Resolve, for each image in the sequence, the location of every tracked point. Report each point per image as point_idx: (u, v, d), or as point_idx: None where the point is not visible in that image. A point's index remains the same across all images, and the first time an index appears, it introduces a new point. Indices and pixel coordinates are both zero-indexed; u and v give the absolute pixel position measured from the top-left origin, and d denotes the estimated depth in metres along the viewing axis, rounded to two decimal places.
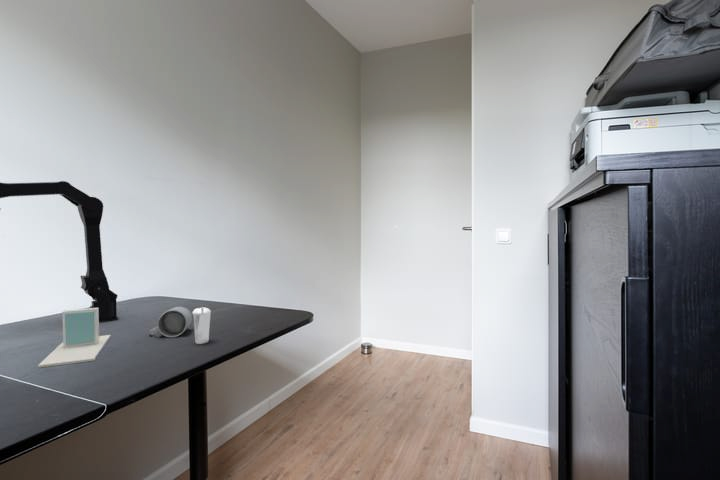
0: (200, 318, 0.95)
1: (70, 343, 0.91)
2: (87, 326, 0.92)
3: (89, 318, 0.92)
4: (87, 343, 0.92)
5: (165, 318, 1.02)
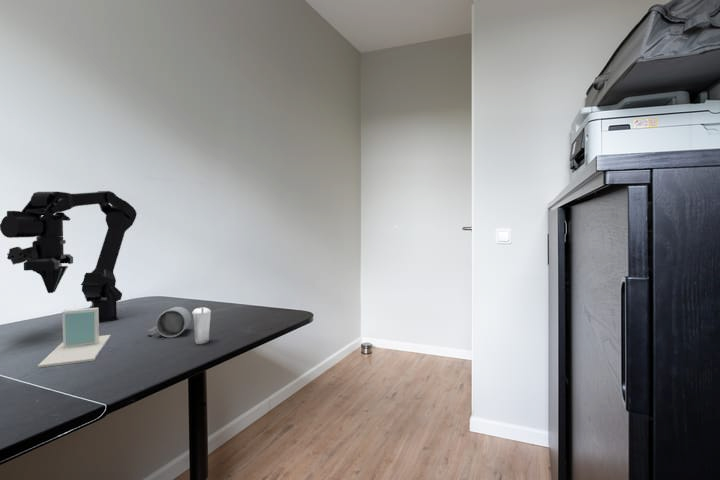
0: (200, 318, 0.95)
1: (70, 343, 0.91)
2: (87, 326, 0.92)
3: (89, 318, 0.92)
4: (87, 343, 0.92)
5: (164, 318, 1.02)
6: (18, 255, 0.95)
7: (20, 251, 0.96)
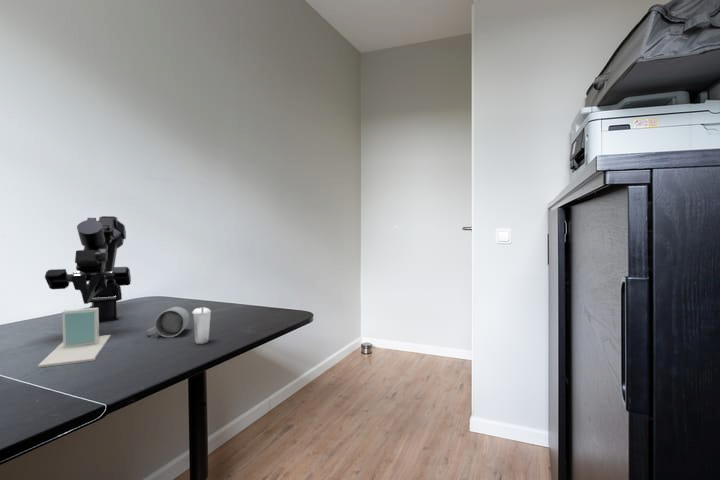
0: (200, 318, 0.95)
1: (70, 343, 0.91)
2: (87, 326, 0.92)
3: (89, 318, 0.92)
4: (87, 343, 0.92)
5: (162, 318, 1.02)
6: (106, 257, 1.02)
7: (107, 255, 1.02)
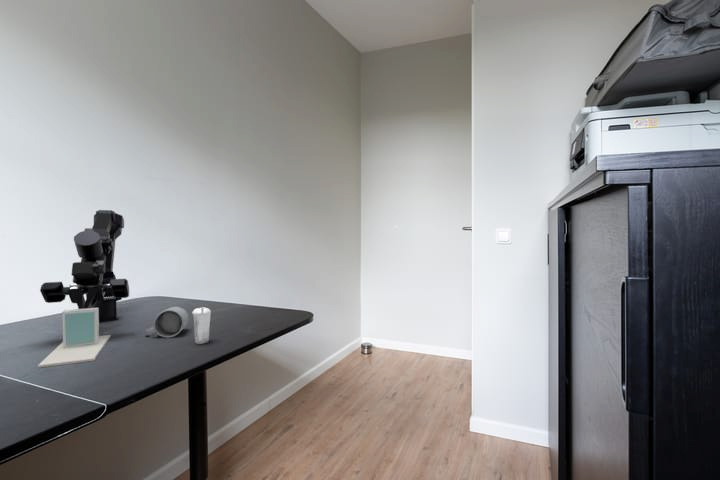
0: (200, 318, 0.95)
1: (70, 343, 0.91)
2: (87, 326, 0.92)
3: (89, 318, 0.92)
4: (87, 343, 0.92)
5: (161, 318, 1.02)
6: (104, 269, 0.98)
7: (105, 267, 0.99)
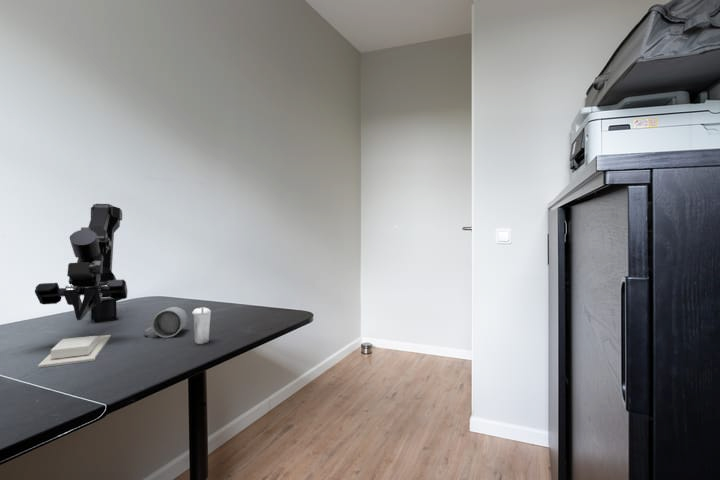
0: (200, 318, 0.95)
1: None
2: None
3: None
4: None
5: (160, 318, 1.02)
6: (101, 270, 0.95)
7: (102, 268, 0.96)
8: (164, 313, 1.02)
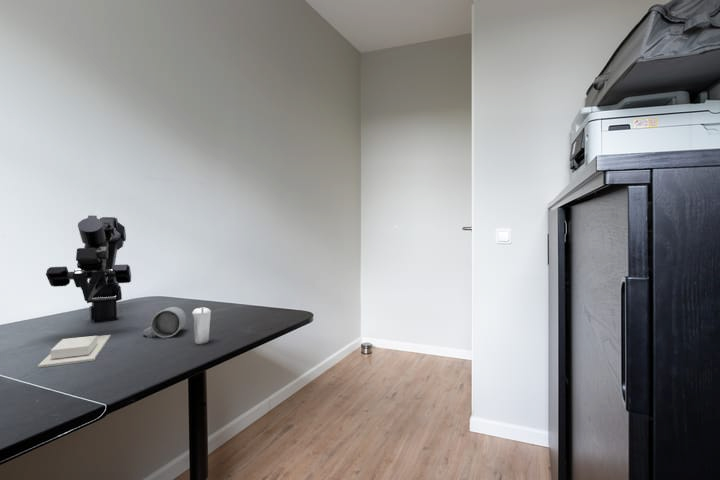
0: (200, 318, 0.95)
1: None
2: None
3: None
4: None
5: (159, 318, 1.02)
6: (107, 255, 1.02)
7: (107, 253, 1.03)
8: (163, 313, 1.02)
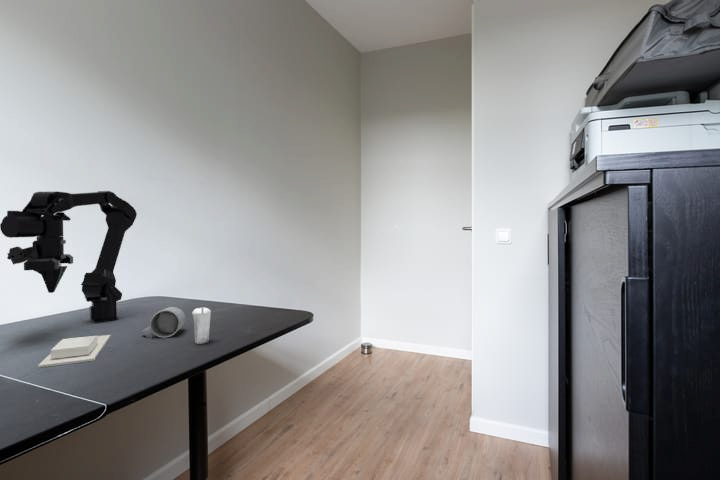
0: (200, 318, 0.95)
1: None
2: None
3: None
4: None
5: (158, 318, 1.02)
6: (18, 255, 0.95)
7: (20, 251, 0.96)
8: (162, 313, 1.02)
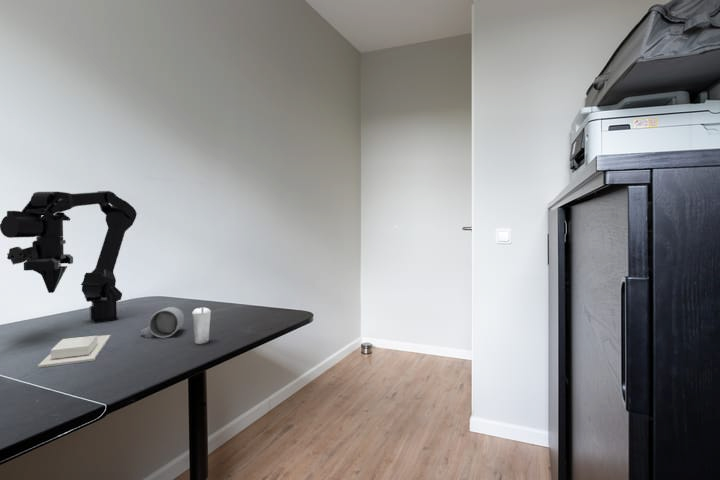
0: (200, 318, 0.95)
1: None
2: None
3: None
4: None
5: (157, 318, 1.02)
6: (18, 255, 0.95)
7: (20, 251, 0.95)
8: (161, 313, 1.02)
